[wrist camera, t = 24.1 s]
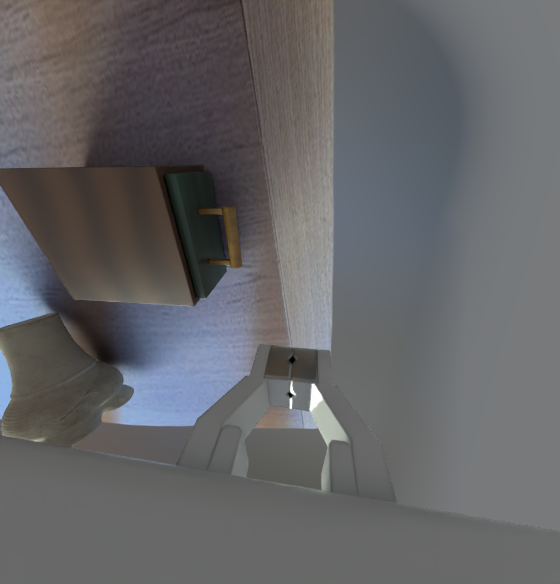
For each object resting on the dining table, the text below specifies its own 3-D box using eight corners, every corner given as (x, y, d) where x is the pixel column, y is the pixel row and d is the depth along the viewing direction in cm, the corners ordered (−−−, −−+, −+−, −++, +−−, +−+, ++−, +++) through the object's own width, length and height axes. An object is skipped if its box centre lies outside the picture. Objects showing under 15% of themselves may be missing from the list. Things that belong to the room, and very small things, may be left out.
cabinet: (203, 165, 26) (154, 166, 18) (222, 271, 33) (194, 306, 25) (83, 167, 27) (-11, 168, 19) (127, 268, 35) (73, 299, 27)
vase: (-129, 334, 31) (-18, 469, 38) (-97, 328, 23) (38, 503, 30) (58, 289, 50) (108, 384, 57) (112, 277, 42) (163, 390, 49)
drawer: (243, 170, 25) (220, 173, 18) (252, 272, 32) (238, 300, 25) (95, 172, 27) (25, 175, 20) (134, 267, 34) (92, 292, 27)
